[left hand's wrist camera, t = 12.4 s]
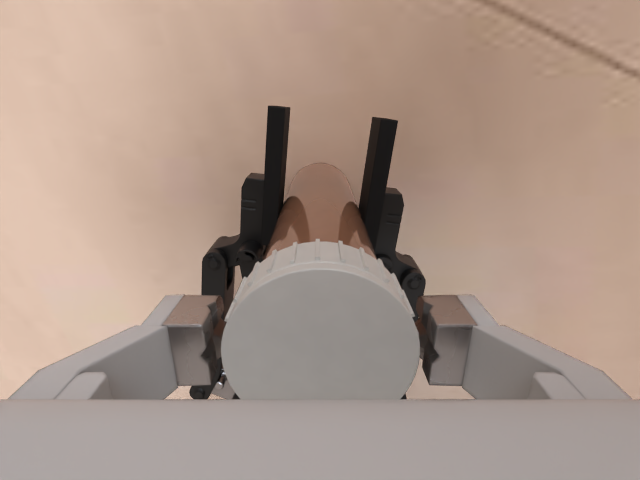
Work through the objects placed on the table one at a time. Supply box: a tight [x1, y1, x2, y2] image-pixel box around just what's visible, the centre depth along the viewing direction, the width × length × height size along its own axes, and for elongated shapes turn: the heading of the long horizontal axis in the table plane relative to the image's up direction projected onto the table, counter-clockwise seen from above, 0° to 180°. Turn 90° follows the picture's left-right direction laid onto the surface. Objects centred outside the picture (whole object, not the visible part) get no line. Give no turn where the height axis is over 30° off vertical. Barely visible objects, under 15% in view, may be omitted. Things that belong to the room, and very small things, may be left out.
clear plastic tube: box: [263, 163, 377, 260], centre depth 17 cm, size 4×4×17 cm
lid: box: [221, 239, 420, 399], centre depth 9 cm, size 5×5×2 cm
